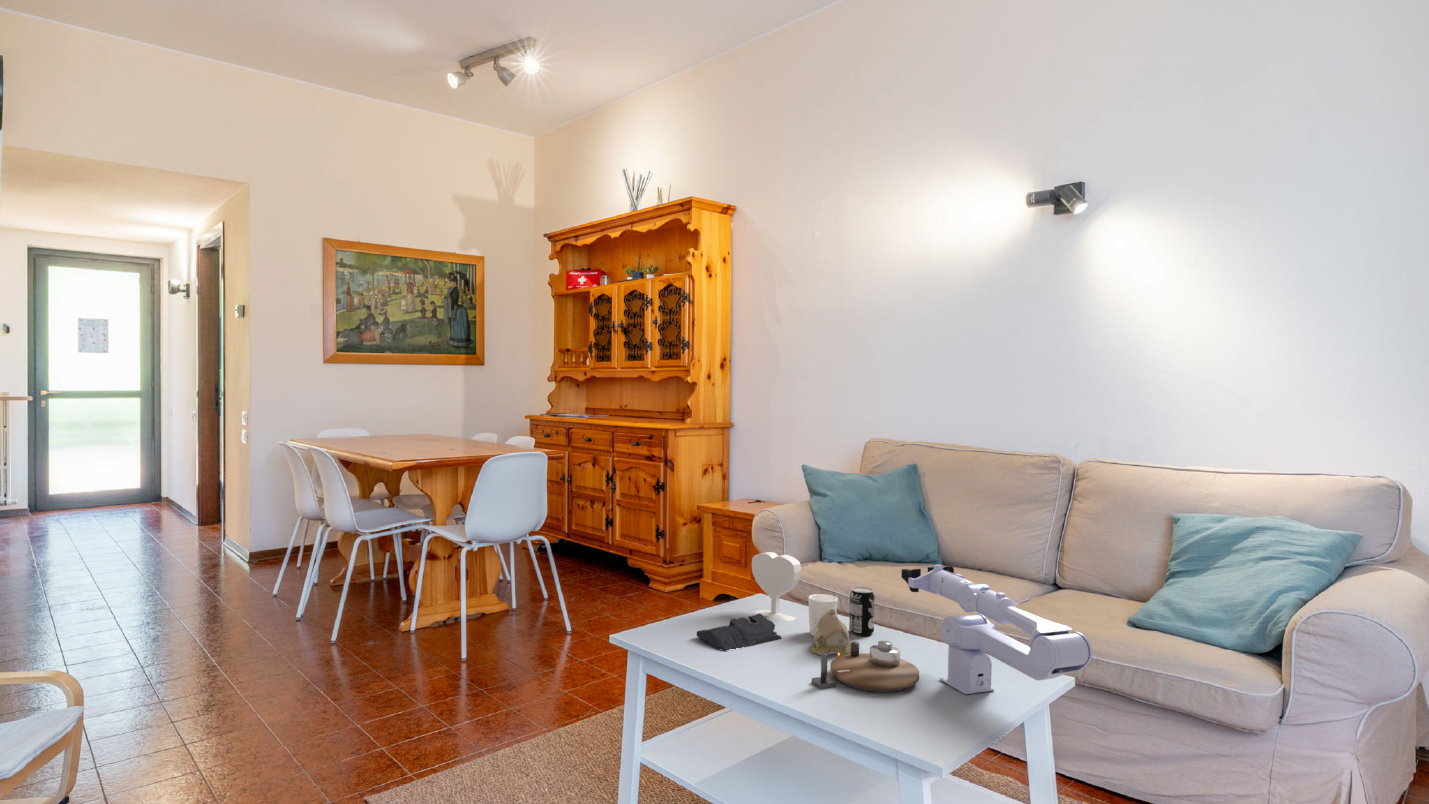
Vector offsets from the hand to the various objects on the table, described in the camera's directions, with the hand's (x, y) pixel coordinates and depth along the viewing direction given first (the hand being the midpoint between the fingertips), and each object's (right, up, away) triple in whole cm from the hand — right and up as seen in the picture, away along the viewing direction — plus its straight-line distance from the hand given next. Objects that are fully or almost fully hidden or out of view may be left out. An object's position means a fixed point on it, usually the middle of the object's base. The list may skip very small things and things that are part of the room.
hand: (915, 572), depth 194 cm
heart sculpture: (-33, -20, +34) cm, 51 cm away
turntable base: (-14, -21, -15) cm, 29 cm away
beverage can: (-10, -21, +19) cm, 30 cm away
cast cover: (-10, -19, -12) cm, 24 cm away
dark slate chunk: (-44, -21, +13) cm, 50 cm away
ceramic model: (-20, -21, +6) cm, 30 cm away
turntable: (-14, -20, -16) cm, 29 cm away
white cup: (-21, -21, +17) cm, 34 cm away
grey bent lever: (-26, -21, -20) cm, 39 cm away
